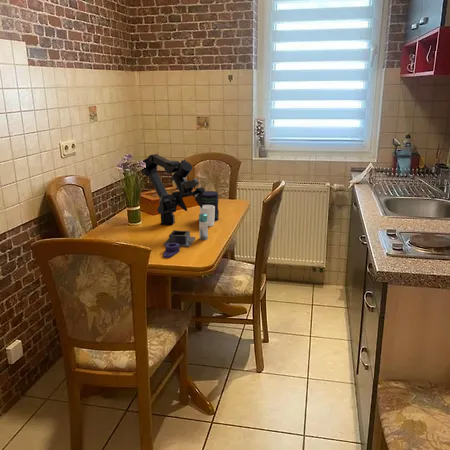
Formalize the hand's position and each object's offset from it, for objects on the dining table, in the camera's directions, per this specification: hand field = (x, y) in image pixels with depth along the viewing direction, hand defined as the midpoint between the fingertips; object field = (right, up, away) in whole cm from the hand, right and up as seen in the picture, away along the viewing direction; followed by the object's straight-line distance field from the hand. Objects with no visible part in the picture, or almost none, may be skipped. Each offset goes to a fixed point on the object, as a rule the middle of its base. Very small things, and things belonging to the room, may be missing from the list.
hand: (194, 209), depth 225 cm
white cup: (+6, -8, +20) cm, 22 cm away
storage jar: (+7, -5, +29) cm, 30 cm away
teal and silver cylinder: (+5, -14, -3) cm, 15 cm away
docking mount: (-6, -16, -7) cm, 19 cm away
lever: (-9, -21, -21) cm, 31 cm away
